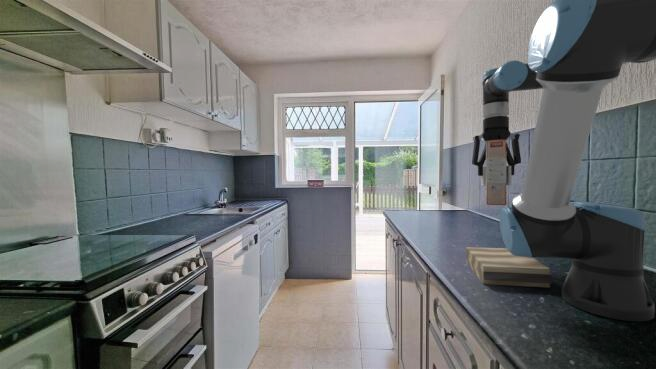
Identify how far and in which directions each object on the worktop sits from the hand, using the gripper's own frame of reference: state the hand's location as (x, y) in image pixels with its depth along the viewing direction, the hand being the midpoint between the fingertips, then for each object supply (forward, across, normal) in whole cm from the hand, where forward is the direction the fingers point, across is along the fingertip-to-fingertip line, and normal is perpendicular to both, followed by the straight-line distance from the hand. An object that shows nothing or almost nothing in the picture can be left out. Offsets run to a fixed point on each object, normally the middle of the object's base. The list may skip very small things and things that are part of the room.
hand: (495, 185), depth 98 cm
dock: (+26, +2, +13) cm, 29 cm away
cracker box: (+6, 0, 0) cm, 6 cm away
